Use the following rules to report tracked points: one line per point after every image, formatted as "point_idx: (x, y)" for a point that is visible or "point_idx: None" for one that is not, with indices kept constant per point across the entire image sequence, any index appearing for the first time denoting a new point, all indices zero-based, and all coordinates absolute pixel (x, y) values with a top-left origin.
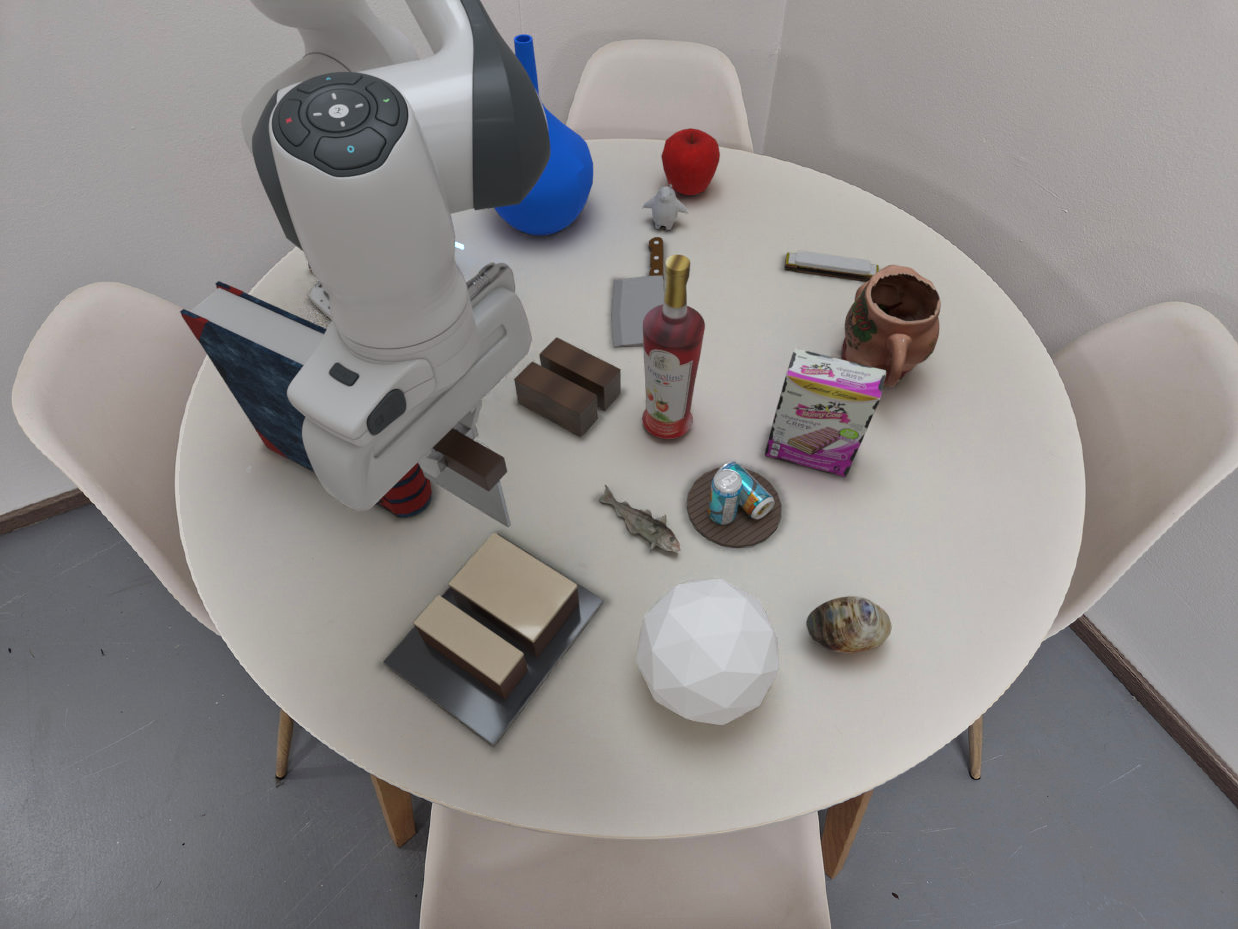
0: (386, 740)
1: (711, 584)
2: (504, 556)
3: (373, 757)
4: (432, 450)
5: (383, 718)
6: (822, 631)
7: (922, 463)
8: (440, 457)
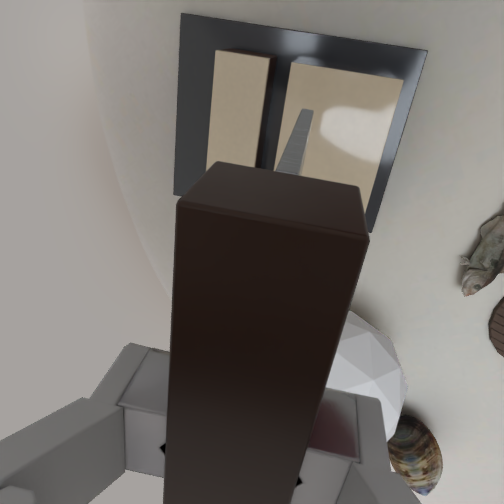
0: (117, 80)
1: (384, 417)
2: (366, 120)
3: (97, 78)
4: (155, 436)
5: (133, 60)
6: (394, 446)
7: None
8: (143, 472)
